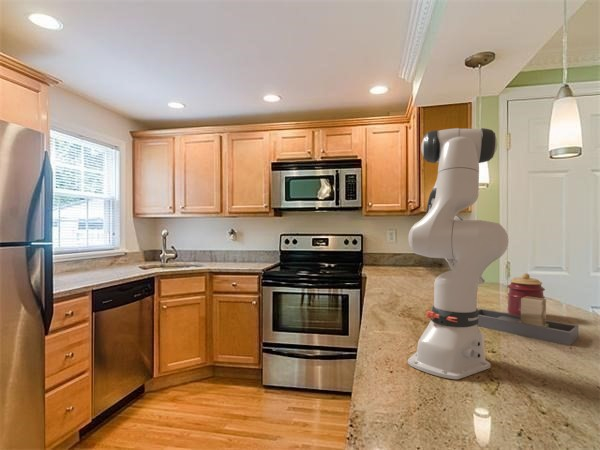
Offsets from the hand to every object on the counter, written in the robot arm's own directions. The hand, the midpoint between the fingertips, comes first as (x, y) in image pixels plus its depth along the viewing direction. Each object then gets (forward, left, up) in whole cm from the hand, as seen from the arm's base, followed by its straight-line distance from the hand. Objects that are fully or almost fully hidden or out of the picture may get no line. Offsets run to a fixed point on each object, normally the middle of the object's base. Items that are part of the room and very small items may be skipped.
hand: (482, 282), depth 135 cm
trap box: (0, -13, -15) cm, 20 cm away
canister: (+25, -8, -16) cm, 30 cm away
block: (0, -17, -12) cm, 21 cm away
